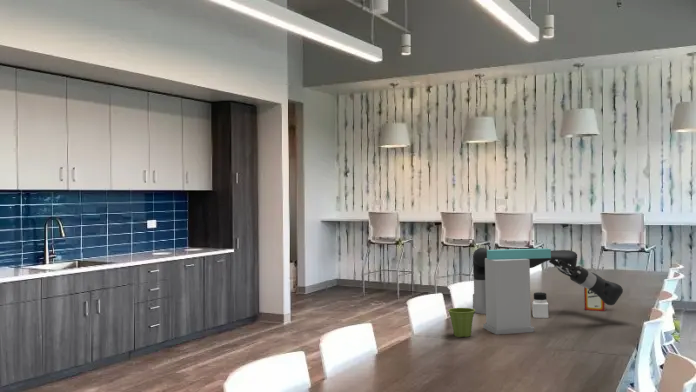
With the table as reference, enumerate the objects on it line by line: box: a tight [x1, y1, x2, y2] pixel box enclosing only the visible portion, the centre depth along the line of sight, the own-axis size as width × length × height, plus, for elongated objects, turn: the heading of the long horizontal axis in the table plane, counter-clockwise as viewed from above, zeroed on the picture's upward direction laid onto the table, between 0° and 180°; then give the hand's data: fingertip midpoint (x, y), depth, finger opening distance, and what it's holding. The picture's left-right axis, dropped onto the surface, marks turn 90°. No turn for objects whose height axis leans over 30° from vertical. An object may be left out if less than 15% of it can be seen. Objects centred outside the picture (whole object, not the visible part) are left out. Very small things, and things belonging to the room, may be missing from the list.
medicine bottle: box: [531, 291, 550, 319], centre depth 313 cm, size 7×7×12 cm
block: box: [487, 247, 552, 260], centre depth 285 cm, size 28×4×4 cm, turn 92°
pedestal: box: [483, 258, 535, 335], centre depth 284 cm, size 18×14×32 cm
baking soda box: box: [583, 278, 606, 312], centre depth 328 cm, size 10×6×16 cm
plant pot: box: [447, 307, 475, 338], centre depth 275 cm, size 12×12×11 cm
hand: (554, 260), depth 289 cm, fingers open, 8 cm apart
